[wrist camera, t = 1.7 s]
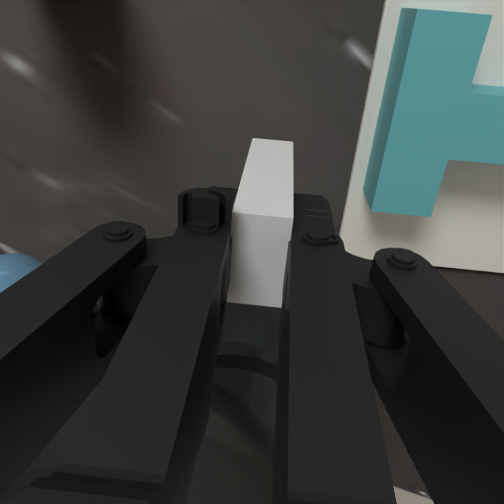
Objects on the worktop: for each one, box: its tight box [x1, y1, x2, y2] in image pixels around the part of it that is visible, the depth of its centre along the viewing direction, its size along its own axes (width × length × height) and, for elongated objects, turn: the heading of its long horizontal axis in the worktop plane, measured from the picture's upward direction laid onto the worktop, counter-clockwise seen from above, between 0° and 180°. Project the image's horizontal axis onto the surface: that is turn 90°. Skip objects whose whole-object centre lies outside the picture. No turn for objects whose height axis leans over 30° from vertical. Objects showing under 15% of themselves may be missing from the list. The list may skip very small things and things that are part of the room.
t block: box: [363, 7, 504, 217], centre depth 28 cm, size 12×12×4 cm
